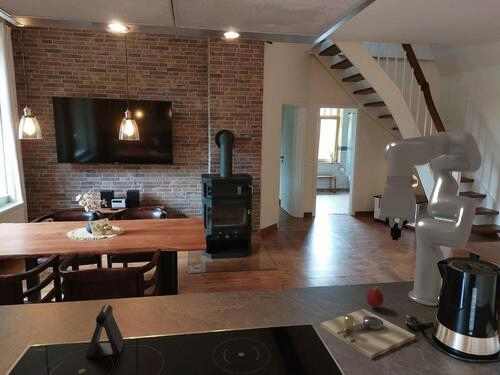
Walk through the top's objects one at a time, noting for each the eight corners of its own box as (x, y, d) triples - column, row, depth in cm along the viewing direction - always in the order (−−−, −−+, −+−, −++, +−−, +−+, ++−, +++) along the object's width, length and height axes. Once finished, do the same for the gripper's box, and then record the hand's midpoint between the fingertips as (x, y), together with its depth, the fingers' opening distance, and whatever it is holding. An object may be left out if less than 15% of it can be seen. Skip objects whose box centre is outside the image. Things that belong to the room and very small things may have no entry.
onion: (364, 309, 126) (365, 288, 125) (367, 303, 131) (368, 282, 130) (381, 313, 123) (383, 291, 122) (383, 306, 128) (385, 285, 127)
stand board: (363, 312, 124) (363, 308, 124) (414, 339, 107) (415, 334, 107) (320, 326, 114) (320, 322, 113) (370, 359, 97) (371, 354, 96)
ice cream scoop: (373, 319, 116) (374, 305, 115) (387, 328, 110) (388, 313, 110) (333, 329, 109) (334, 314, 108) (346, 339, 104) (347, 323, 103)
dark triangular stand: (124, 342, 103) (123, 304, 101) (119, 355, 97) (118, 314, 95) (92, 344, 102) (90, 305, 100) (85, 357, 96) (83, 315, 94)
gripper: (427, 182, 108) (422, 240, 111) (376, 179, 116) (373, 233, 118) (425, 184, 102) (420, 246, 104) (371, 181, 109) (368, 238, 112)
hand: (395, 239), depth 111 cm, fingers closed
